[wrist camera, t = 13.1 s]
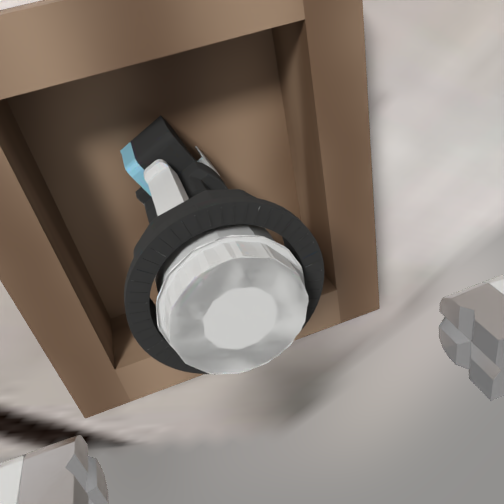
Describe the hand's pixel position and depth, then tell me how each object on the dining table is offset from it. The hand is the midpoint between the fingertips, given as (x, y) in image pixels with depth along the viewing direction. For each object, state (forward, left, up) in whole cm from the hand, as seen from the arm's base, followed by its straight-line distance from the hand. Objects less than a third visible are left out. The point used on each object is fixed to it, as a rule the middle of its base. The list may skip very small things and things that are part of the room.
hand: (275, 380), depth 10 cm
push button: (0, 0, -12) cm, 12 cm away
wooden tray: (0, 0, -13) cm, 13 cm away
